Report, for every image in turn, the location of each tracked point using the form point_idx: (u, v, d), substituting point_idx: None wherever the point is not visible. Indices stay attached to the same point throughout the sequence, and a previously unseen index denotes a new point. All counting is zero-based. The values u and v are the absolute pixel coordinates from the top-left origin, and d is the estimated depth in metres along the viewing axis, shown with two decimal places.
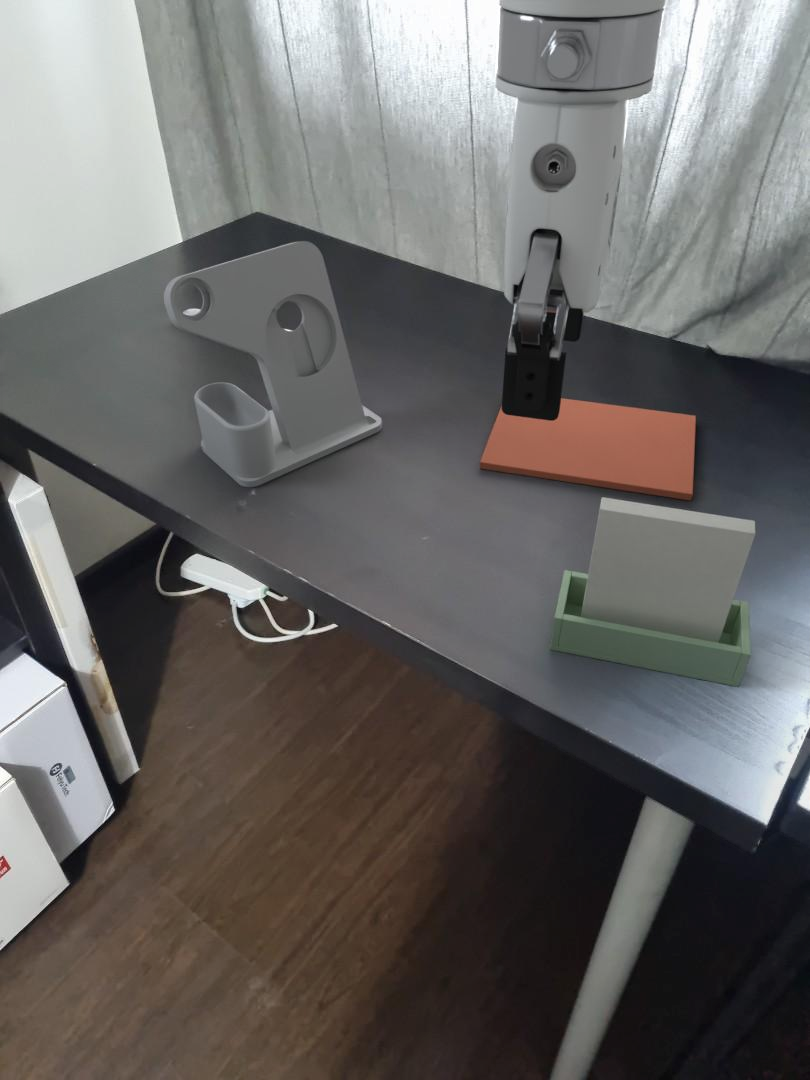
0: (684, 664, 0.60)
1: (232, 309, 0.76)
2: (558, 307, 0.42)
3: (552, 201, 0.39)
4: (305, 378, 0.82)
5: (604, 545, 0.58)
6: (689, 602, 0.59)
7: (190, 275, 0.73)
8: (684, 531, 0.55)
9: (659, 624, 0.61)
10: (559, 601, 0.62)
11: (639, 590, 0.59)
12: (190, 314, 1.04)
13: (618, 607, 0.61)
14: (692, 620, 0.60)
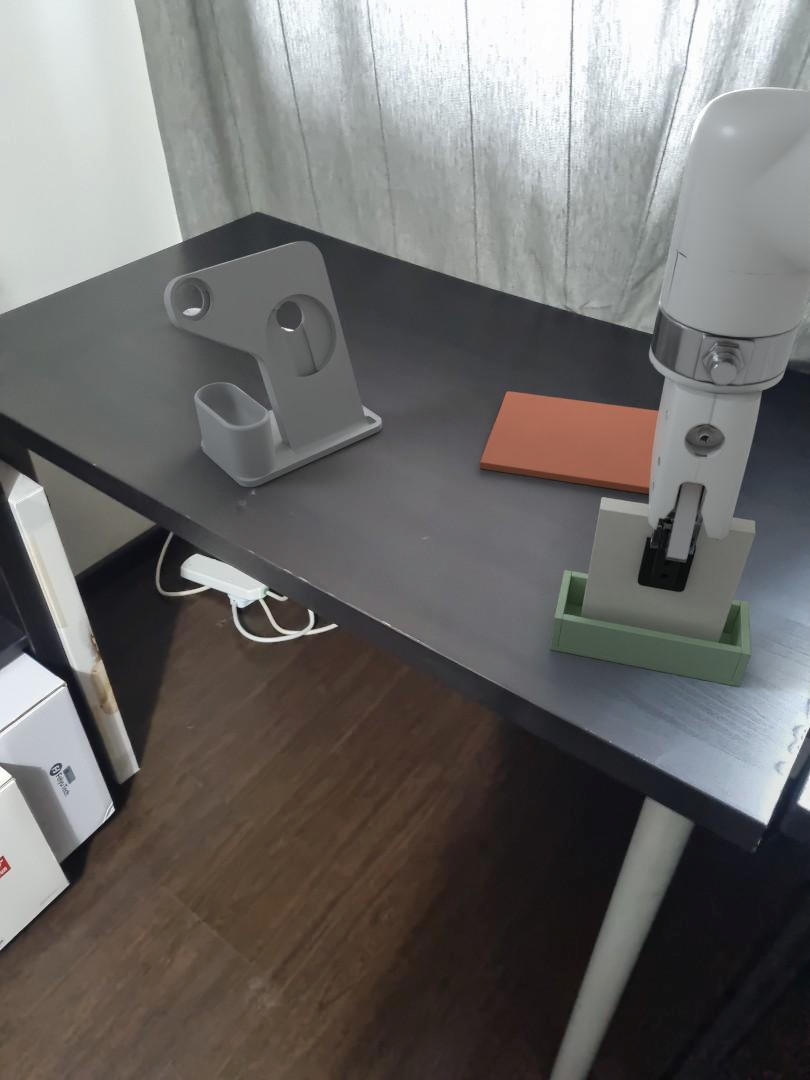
0: (684, 664, 0.60)
1: (232, 309, 0.76)
2: None
3: (701, 464, 0.47)
4: (305, 378, 0.82)
5: (604, 545, 0.58)
6: (689, 602, 0.59)
7: (190, 275, 0.73)
8: None
9: (659, 624, 0.61)
10: (559, 601, 0.62)
11: (639, 590, 0.59)
12: (191, 314, 1.04)
13: (618, 607, 0.61)
14: (692, 620, 0.60)
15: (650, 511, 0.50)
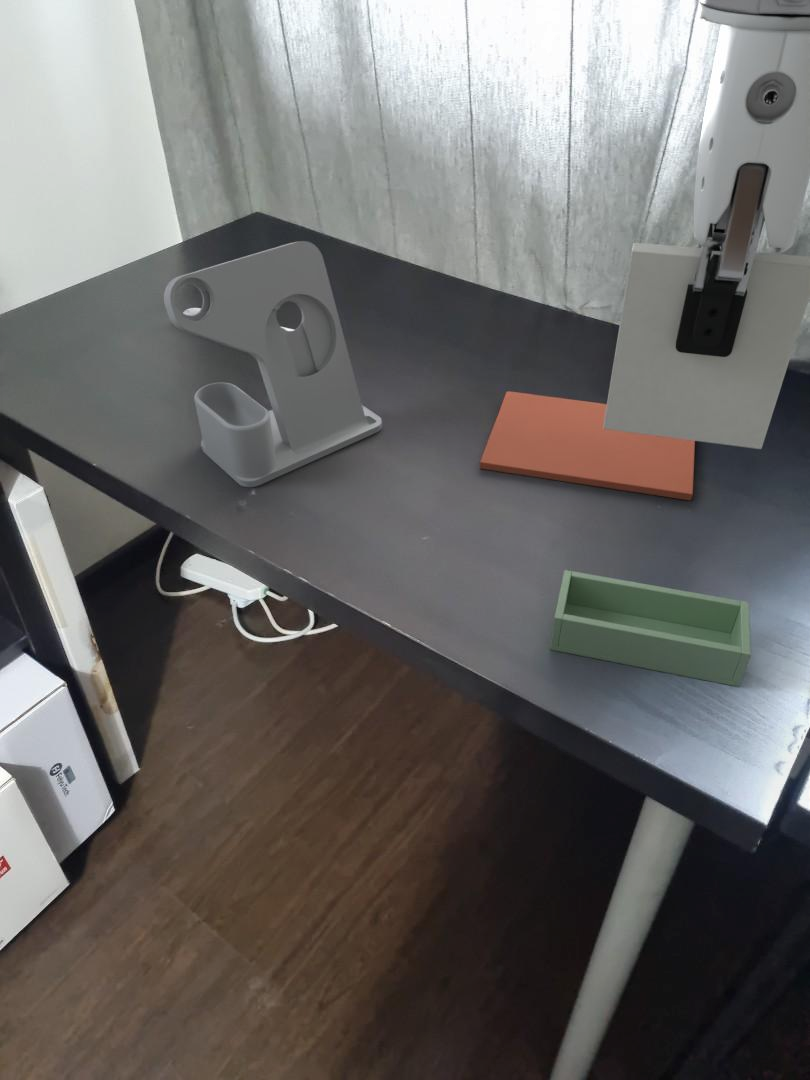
0: (684, 664, 0.60)
1: (232, 309, 0.76)
2: None
3: (766, 133, 0.38)
4: (305, 378, 0.82)
5: (636, 303, 0.49)
6: (735, 374, 0.50)
7: (190, 275, 0.73)
8: None
9: (699, 410, 0.52)
10: (559, 601, 0.62)
11: (676, 364, 0.51)
12: (191, 313, 1.04)
13: (650, 390, 0.52)
14: (737, 400, 0.51)
15: (698, 218, 0.42)
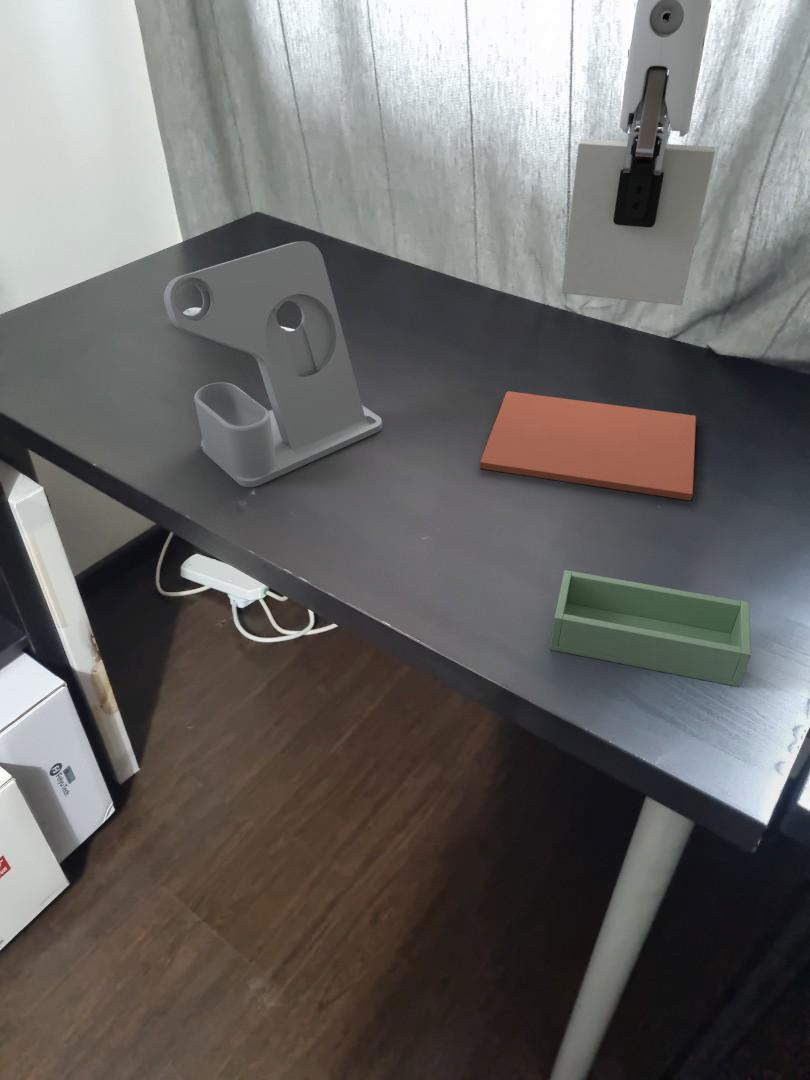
0: (684, 664, 0.60)
1: (232, 309, 0.76)
2: (660, 141, 0.60)
3: (664, 43, 0.54)
4: (305, 378, 0.82)
5: (583, 186, 0.65)
6: (659, 242, 0.66)
7: (190, 275, 0.73)
8: None
9: (633, 273, 0.68)
10: (559, 601, 0.62)
11: (615, 235, 0.67)
12: (191, 313, 1.04)
13: (596, 258, 0.68)
14: (662, 264, 0.67)
15: (621, 110, 0.57)
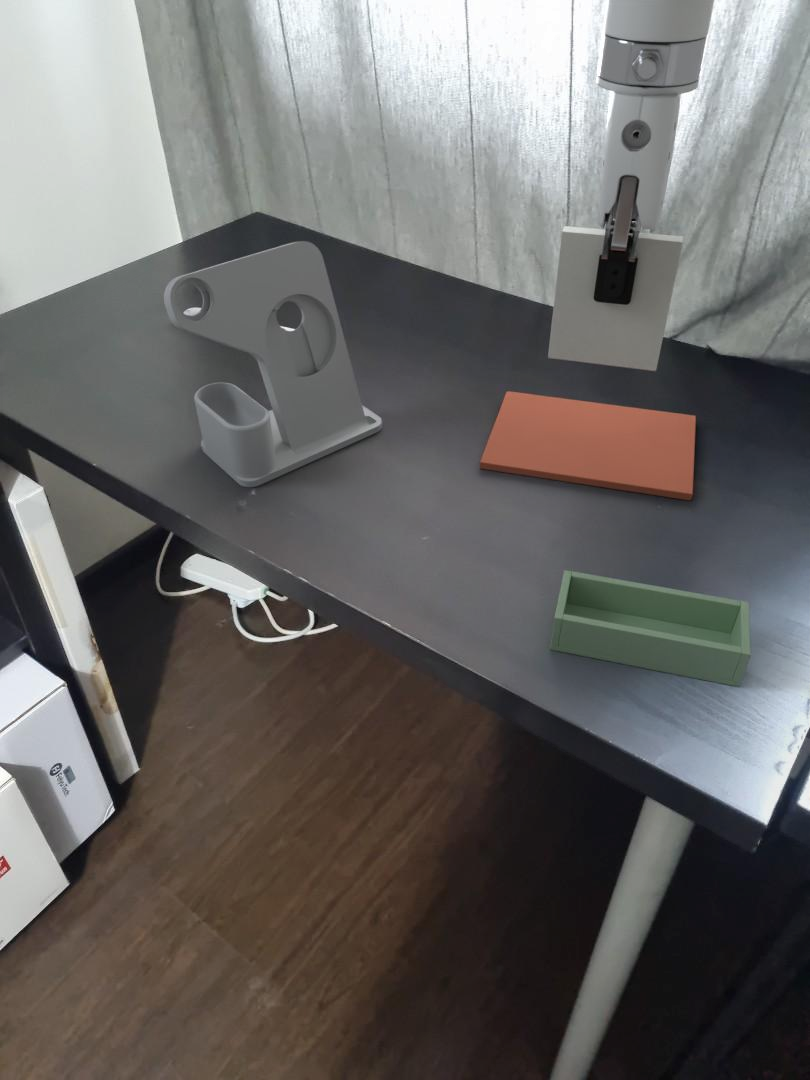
0: (684, 664, 0.60)
1: (232, 309, 0.76)
2: (633, 233, 0.67)
3: (634, 157, 0.61)
4: (305, 378, 0.82)
5: (566, 267, 0.72)
6: (634, 317, 0.73)
7: (190, 275, 0.73)
8: None
9: (612, 343, 0.76)
10: (559, 601, 0.62)
11: (595, 310, 0.74)
12: (191, 313, 1.04)
13: (579, 329, 0.76)
14: (637, 335, 0.74)
15: (598, 210, 0.65)
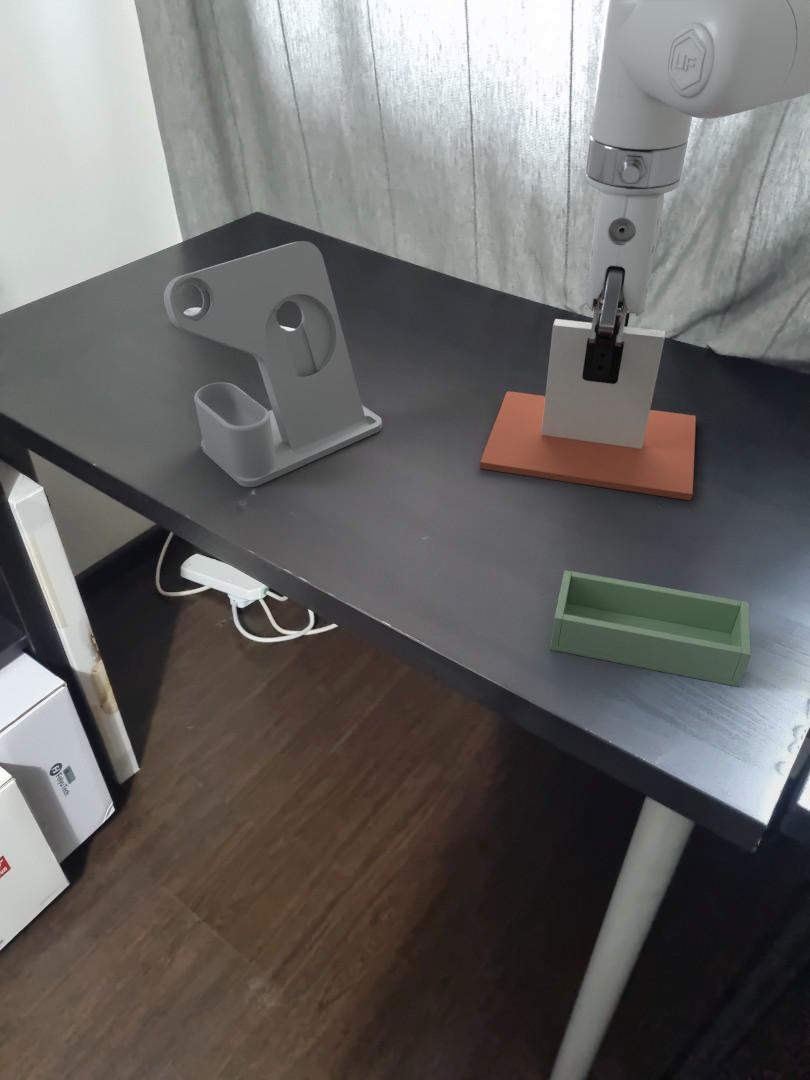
0: (684, 664, 0.60)
1: (232, 309, 0.76)
2: (620, 316, 0.71)
3: (620, 250, 0.66)
4: (305, 378, 0.82)
5: (557, 356, 0.78)
6: (621, 401, 0.79)
7: (190, 275, 0.73)
8: None
9: (601, 423, 0.81)
10: (559, 601, 0.62)
11: (584, 394, 0.79)
12: (192, 313, 1.05)
13: (570, 410, 0.81)
14: (624, 417, 0.80)
15: (587, 295, 0.69)
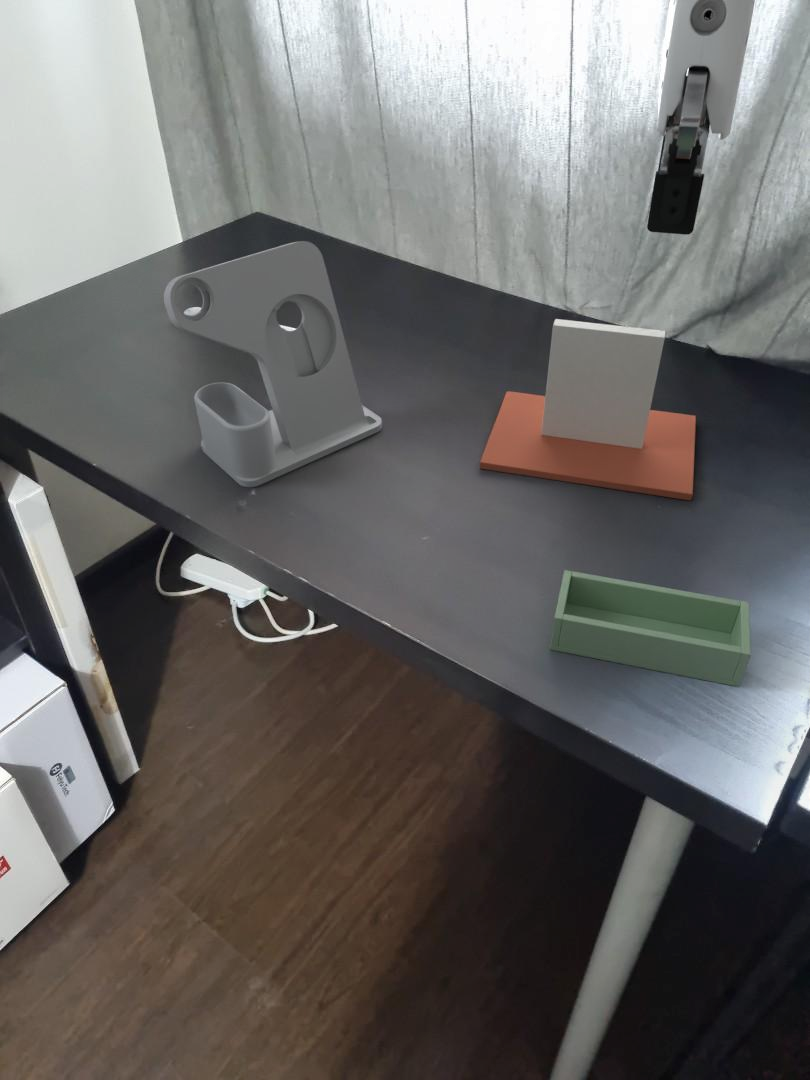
0: (684, 664, 0.60)
1: (232, 309, 0.76)
2: (701, 134, 0.55)
3: (705, 42, 0.52)
4: (305, 378, 0.82)
5: (557, 356, 0.78)
6: (621, 401, 0.79)
7: (190, 275, 0.73)
8: (614, 339, 0.75)
9: (601, 423, 0.81)
10: (559, 601, 0.62)
11: (584, 394, 0.79)
12: (192, 313, 1.05)
13: (570, 410, 0.81)
14: (624, 417, 0.80)
15: (659, 112, 0.55)
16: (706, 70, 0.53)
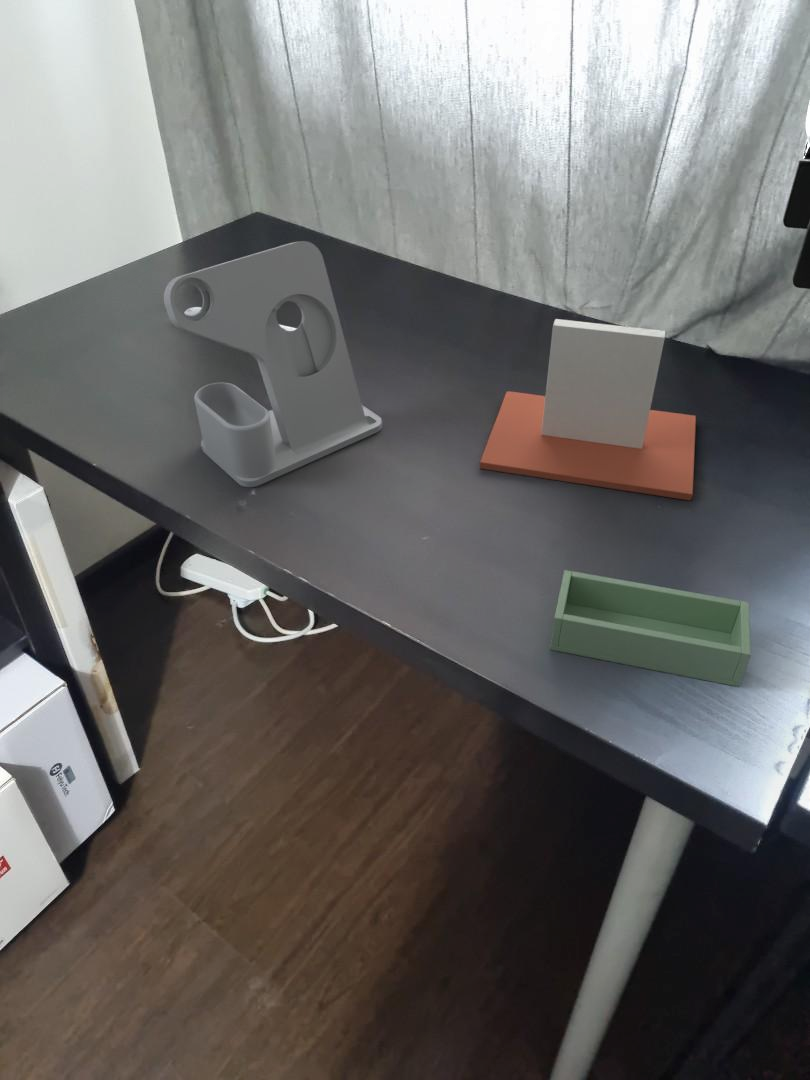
0: (684, 664, 0.60)
1: (232, 309, 0.76)
2: None
3: None
4: (305, 378, 0.82)
5: (557, 356, 0.78)
6: (621, 401, 0.79)
7: (190, 275, 0.73)
8: (614, 339, 0.75)
9: (601, 423, 0.81)
10: (559, 601, 0.62)
11: (584, 394, 0.79)
12: (192, 312, 1.05)
13: (570, 410, 0.81)
14: (624, 417, 0.80)
15: None
16: None
